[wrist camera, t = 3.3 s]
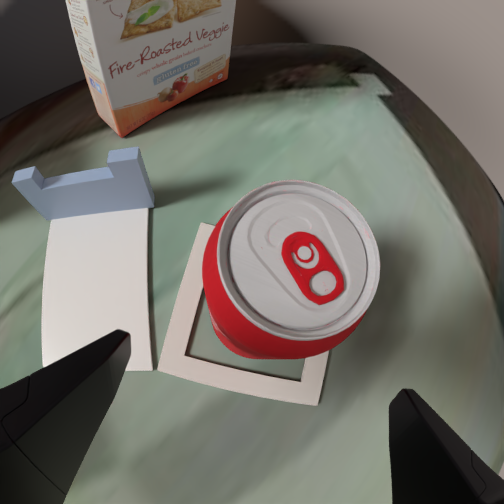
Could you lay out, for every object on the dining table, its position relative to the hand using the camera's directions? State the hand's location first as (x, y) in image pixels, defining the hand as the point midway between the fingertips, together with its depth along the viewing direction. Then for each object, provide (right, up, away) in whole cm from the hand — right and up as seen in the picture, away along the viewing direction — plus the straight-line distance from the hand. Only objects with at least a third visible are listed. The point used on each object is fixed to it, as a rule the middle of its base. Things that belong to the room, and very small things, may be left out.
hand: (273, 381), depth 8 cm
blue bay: (-12, +2, +11) cm, 17 cm away
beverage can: (0, 0, +12) cm, 12 cm away
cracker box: (-10, +20, +19) cm, 29 cm away
